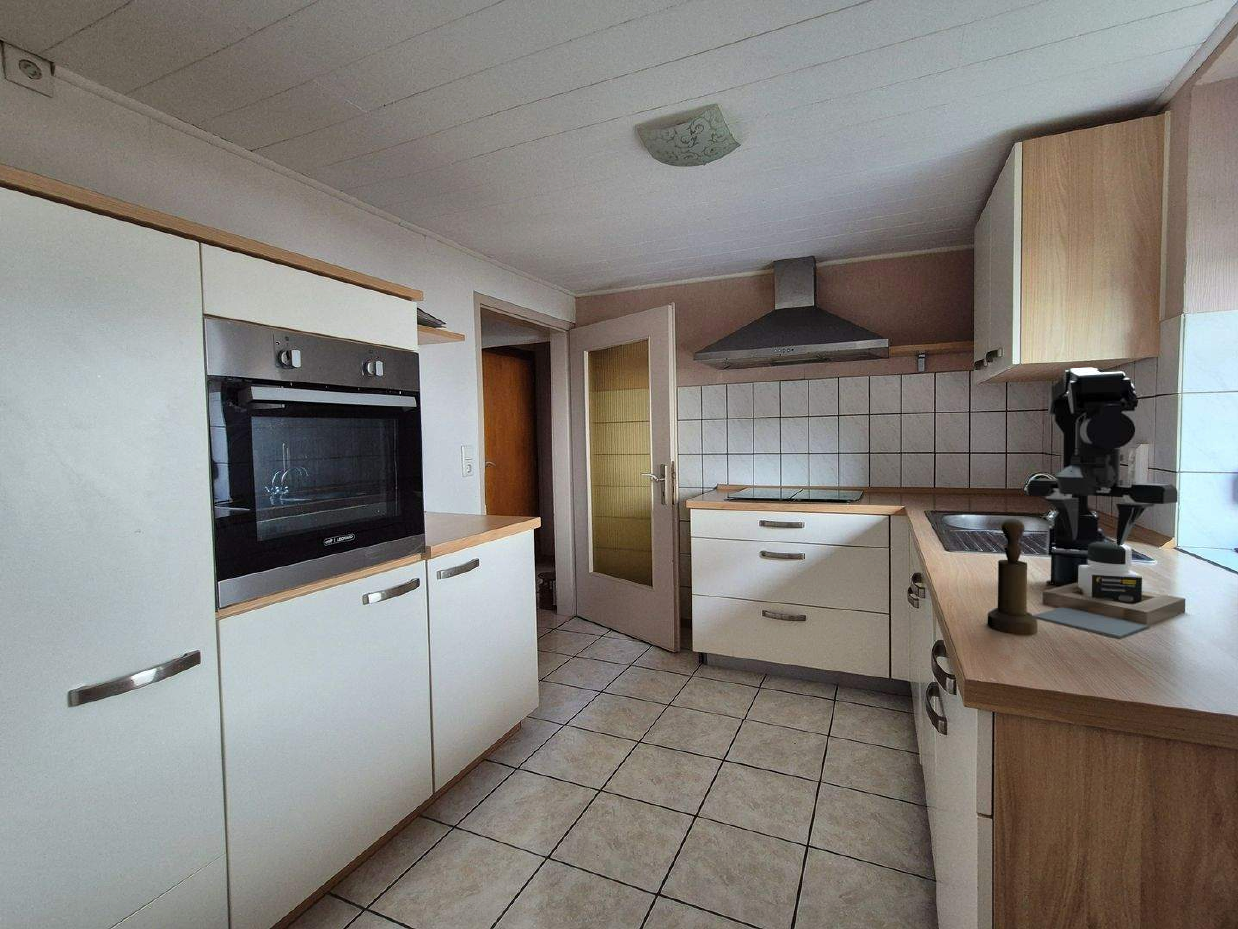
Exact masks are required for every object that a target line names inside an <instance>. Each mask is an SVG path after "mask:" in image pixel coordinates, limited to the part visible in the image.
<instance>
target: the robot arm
mask: <svg viewBox="0 0 1238 929" xmlns="http://www.w3.org/2000/svg"><path fill="white" fill-rule="evenodd" d="M1138 403H1139V399H1138V396H1137V392H1136V389H1135V385H1134V384H1133V383H1132V382H1131V378H1129V377H1126V374H1125V372H1123V371H1108V372H1100V371H1099V369H1098V368H1094V367H1080V368H1079V367H1077V368H1068V369H1067V370H1065V369H1064V373H1063V378H1061V379H1060V380H1059V381H1057V383H1054V385H1053V386H1051V387H1050V390H1049V397H1048V403H1047V404H1048V405H1047V406H1048V409H1047V410H1048V415H1051V421H1052V422H1051V423H1052V424H1053V426H1054V427H1055V429H1056V431H1058V433H1059V434H1060V436H1061V437H1060V438H1061V440H1060V441H1061V445H1060V447H1061V452H1060V453H1061V455H1060V456H1061V458H1060V460H1061V462H1060V464H1061V465H1060V466H1061V468H1060V471H1059V472H1058V473H1057V474H1056V479H1048V478H1043V479H1041V478H1040V479H1031V480H1030V481H1029V482H1028V483H1027V485H1026V496H1030V497H1031V496H1032V497H1045V498H1043V501H1044V502H1047V503H1050V504H1051V505H1052V506H1053V507H1054V508H1055V509H1056V511H1055V513H1054V514H1053V515H1052V517H1051V524H1050V525H1048V526H1047V532H1046V536H1045V537H1046V538H1045V553H1046V554H1047V555H1048V556H1050V579H1048V580H1046V584H1048V585H1053V586H1058V587H1061V586H1065V585H1069V584H1072V583H1076V582H1078V566H1079V565H1090V564H1088V545H1089V544H1090V543H1094V542H1106V535H1104V534H1103V531H1102V529H1101V528H1099V520H1098V519H1097V517H1096V515H1094V513H1093V512H1092V511H1091V509H1090V508H1089V504H1088V502H1089V496H1095V497H1107V498H1108V497H1110V498H1122V500H1123V502H1121V503H1120V502H1119V503H1116V504H1115V505H1116V509H1117V512H1118V515H1117V516H1118V517H1117V525H1116V526H1117V528H1116V536H1115V537H1116V543H1117V545H1123V544H1124V543H1125V541H1126V539H1127V538H1128V536H1129V534H1130V532H1131V531H1132V529H1133V527H1134V526H1135V524H1136V522H1137V520H1139V518H1140V517H1141V516H1142V514H1143V513H1144V512H1145V510H1146V508H1152V507H1155V506H1156V504H1157V505H1164V504H1172V503H1178V496H1179V495H1178V494H1179V493H1178V492H1179V491H1178V489H1177V488H1176V486H1175V485H1174V484H1172V483H1154V482H1153V483H1151V482H1150V483H1148V482H1143V483H1132V484H1131V485H1130V486H1125V485H1124V486H1123V483H1124V482H1123V480H1124V479H1123V478H1122V479H1121V478H1120V475H1121V473H1120V472H1121V470H1120V469H1121V462H1123V461H1124V454H1121V448H1123V447H1124V446H1126V445H1127V444H1128V443H1130V442H1131V441H1132V440H1133V439H1134V436H1135V434H1136V426H1135V423H1134V421H1133V420H1132V419H1131V417H1129V416H1128V415H1126V414H1125V413H1130V412H1135V410H1136V408H1137V407H1138ZM1103 488H1105V489H1103Z"/></svg>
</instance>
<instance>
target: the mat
mask: <svg viewBox="0 0 1238 929" xmlns="http://www.w3.org/2000/svg"><path fill="white" fill-rule="evenodd" d="M1032 616H1033V617H1035V618H1036V619H1037V620H1042V621H1045V622H1050V623H1053V624H1058V625H1062V626H1065V627H1070V628H1074V629H1078V630H1080V631H1081V630H1083V631H1085V632H1090V633H1094V634H1098V635H1103V636H1107V637H1110V638H1115V639H1118V640H1122V639H1123V638H1126V637H1129V636H1132V635H1135V634H1138V633H1140V632H1143V631H1145V630H1148V629H1150V626H1149V625H1146V624H1142V623H1137V622H1132V621H1128V620H1123V619H1119V618H1114V617H1109V616H1105V615H1100V614H1095V613H1091V612H1086V611H1081V610H1077V609H1072V608H1067V607H1056V608H1053V609H1050V610H1047V611H1044V612H1040V613H1036V614H1034V615H1033V614H1032Z"/></svg>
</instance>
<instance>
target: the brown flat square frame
mask: <svg viewBox="0 0 1238 929" xmlns="http://www.w3.org/2000/svg"><path fill="white" fill-rule="evenodd" d="M1042 604H1044V605H1048V606H1054V607H1056V608H1060V607H1067V608H1072V609H1077V610H1081V611H1086V612H1091V613H1095V614H1100V615H1105V616H1109V617H1114V618H1119V619H1123V620H1128V621H1132V622H1137V623H1142V624H1146V625H1149V627H1150V626H1152V625H1154V624H1158V623H1160V622H1163V621H1166V620H1168V619H1172V618H1174V617H1176V616H1177V617H1178V616H1179V615H1182V614H1184V613H1186V598H1183V597H1179V596H1173V595H1167V594H1161V593H1156V592H1150V591H1145V590H1142V602H1139V603H1136V604H1133V605H1131V604H1126V603H1120V602H1115V601H1110V600H1105V599H1100V598H1095V597H1090V596H1085V595H1082V589H1081V588H1079V587H1078V582H1076V583H1072V584H1069V585H1065V586H1058V587H1054V588H1050V589H1046V590H1043V591H1042ZM1181 613H1182V614H1181Z"/></svg>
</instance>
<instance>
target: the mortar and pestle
mask: <svg viewBox="0 0 1238 929" xmlns="http://www.w3.org/2000/svg"><path fill="white" fill-rule="evenodd" d="M1001 532H1002V533H1003V535H1004V536H1005V538H1006V541H1007V544H1006V545H1005V546H1003V547H1004V552H1005V557H1006V558H1007V559H999V560H998V561H997V578H998V579H997V607H995V608H993V609H992V610H991V611H989V612H988V613H987V623H986V626H987V627H988V628H989V629H990V630H991V629H992V630H993V631H996V632H1000V633H1003V634H1009V635H1015V636H1033V635H1036V634H1037V633H1038V619H1037V618H1035V617H1033V614H1032V613H1030V612H1028V598H1027V596H1028V587H1027V586H1028V562H1026V561H1021V560H1019V559H1020V556H1021V553H1022V547H1021V546H1020V545H1019V540H1020V539H1021V537H1022V536H1023V534H1024V532H1025V525H1024V523H1023V522H1022V521H1020V520H1019V519H1016V518H1009V519H1005V520H1004V521H1003V522H1002V524H1001Z"/></svg>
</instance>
